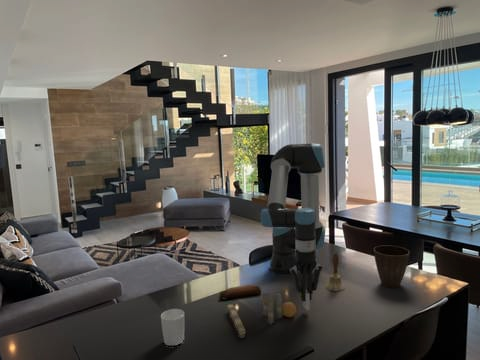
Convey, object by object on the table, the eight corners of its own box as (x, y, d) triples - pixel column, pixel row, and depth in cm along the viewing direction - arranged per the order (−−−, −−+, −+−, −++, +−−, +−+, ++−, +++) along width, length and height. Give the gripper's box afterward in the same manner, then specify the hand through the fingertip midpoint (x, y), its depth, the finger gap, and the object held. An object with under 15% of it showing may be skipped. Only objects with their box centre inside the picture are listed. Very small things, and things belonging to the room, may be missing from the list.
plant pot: (392, 276, 173) (393, 243, 172) (416, 288, 159) (417, 252, 157) (366, 281, 169) (366, 247, 167) (389, 293, 155) (389, 257, 153)
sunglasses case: (255, 287, 166) (257, 278, 162) (260, 300, 161) (262, 291, 157) (217, 292, 162) (218, 283, 158) (220, 306, 157) (221, 297, 153)
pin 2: (267, 322, 135) (266, 299, 134) (272, 321, 135) (272, 298, 134) (269, 324, 133) (268, 301, 132) (274, 323, 133) (273, 300, 132)
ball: (291, 298, 141) (293, 311, 142) (278, 301, 140) (280, 314, 140) (297, 303, 136) (299, 317, 137) (284, 307, 135) (286, 321, 135)
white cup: (164, 336, 128) (162, 309, 127) (186, 334, 128) (185, 308, 127) (161, 349, 120) (159, 321, 119) (185, 347, 121) (183, 319, 119)
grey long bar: (228, 312, 144) (227, 305, 143) (233, 311, 144) (232, 304, 144) (240, 338, 124) (239, 330, 124) (245, 338, 125) (245, 329, 124)
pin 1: (262, 314, 141) (262, 292, 140) (267, 313, 141) (267, 291, 140) (264, 317, 139) (263, 294, 138) (269, 316, 139) (268, 293, 138)
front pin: (276, 316, 139) (275, 294, 138) (281, 315, 139) (280, 293, 138) (277, 318, 137) (276, 296, 136) (282, 318, 137) (281, 295, 136)
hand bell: (343, 283, 167) (342, 250, 165) (346, 291, 159) (346, 256, 157) (324, 283, 168) (324, 250, 166) (327, 291, 159) (326, 256, 158)
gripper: (293, 254, 133) (294, 315, 135) (325, 250, 136) (326, 310, 138) (285, 248, 140) (287, 306, 143) (316, 244, 143) (317, 301, 146)
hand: (306, 308), depth 140 cm, fingers closed
